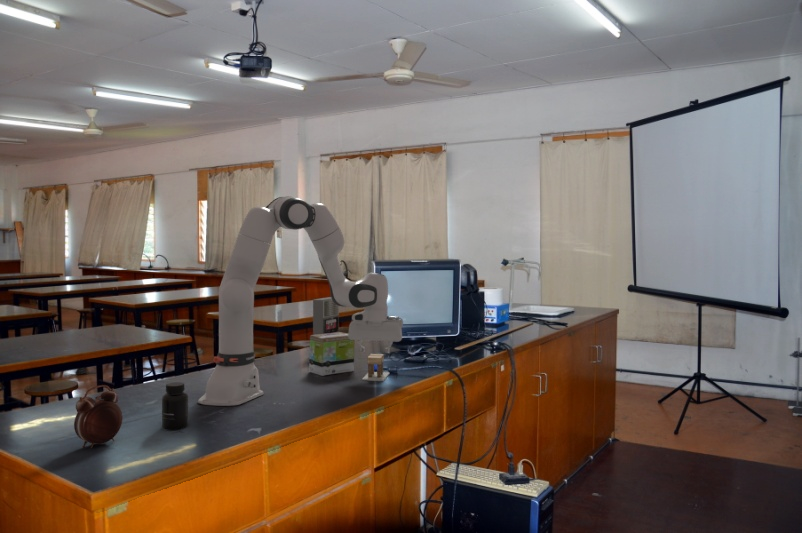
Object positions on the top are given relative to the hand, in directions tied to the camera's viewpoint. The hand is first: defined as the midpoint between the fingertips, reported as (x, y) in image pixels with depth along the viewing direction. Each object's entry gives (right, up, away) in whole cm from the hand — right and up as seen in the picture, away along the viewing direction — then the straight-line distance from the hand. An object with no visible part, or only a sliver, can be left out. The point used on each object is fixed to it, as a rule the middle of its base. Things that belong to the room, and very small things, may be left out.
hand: (374, 352), depth 229 cm
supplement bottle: (-52, -12, -62) cm, 82 cm away
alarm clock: (-66, -13, -77) cm, 102 cm away
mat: (+1, -10, 0) cm, 10 cm away
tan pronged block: (0, -9, 0) cm, 9 cm away
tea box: (-17, -9, +10) cm, 22 cm away
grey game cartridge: (-24, -7, +48) cm, 54 cm away
